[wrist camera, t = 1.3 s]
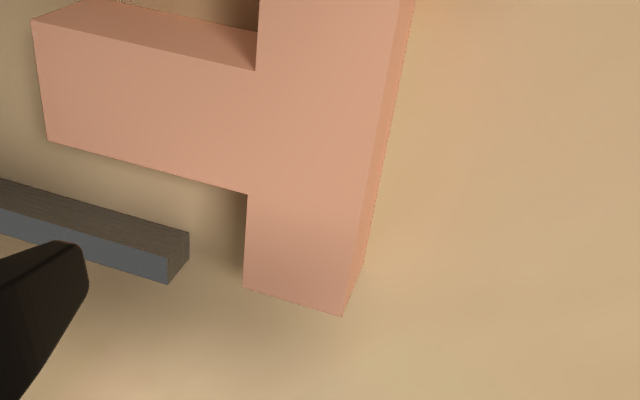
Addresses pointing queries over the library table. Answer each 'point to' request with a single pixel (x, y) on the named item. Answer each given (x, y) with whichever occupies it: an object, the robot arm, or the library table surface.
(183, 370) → the library table surface
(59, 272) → the robot arm
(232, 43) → the t block
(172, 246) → the fence
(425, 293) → the library table surface
